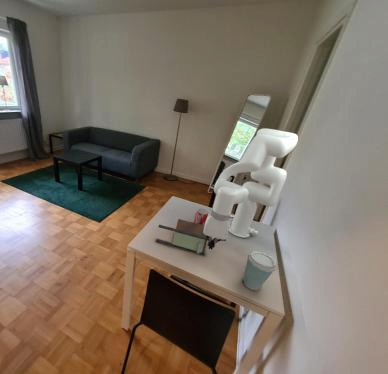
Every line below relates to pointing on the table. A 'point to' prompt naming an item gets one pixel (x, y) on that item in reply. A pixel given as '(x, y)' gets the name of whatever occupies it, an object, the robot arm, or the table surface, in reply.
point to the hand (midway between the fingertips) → (210, 247)
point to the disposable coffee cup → (258, 269)
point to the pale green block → (188, 242)
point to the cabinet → (186, 233)
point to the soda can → (201, 216)
